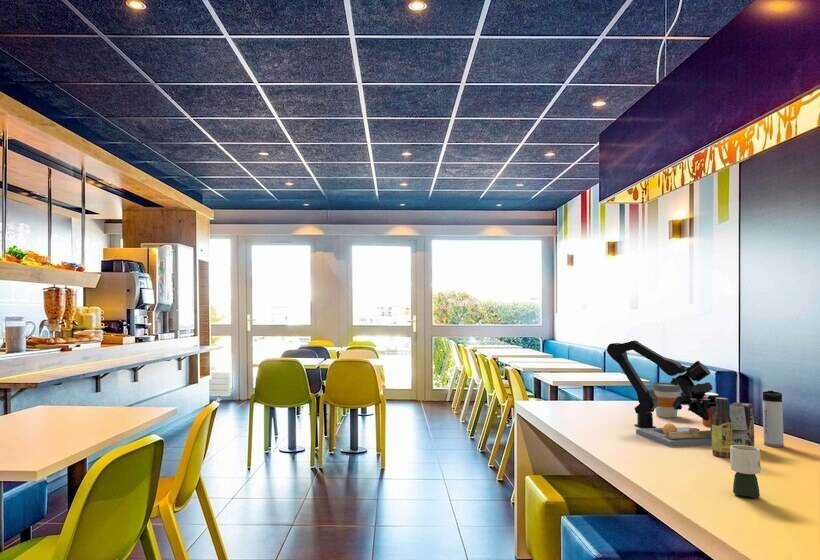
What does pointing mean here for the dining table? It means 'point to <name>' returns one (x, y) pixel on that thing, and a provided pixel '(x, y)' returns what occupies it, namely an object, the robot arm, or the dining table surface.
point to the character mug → (745, 469)
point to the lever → (694, 430)
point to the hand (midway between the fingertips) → (707, 420)
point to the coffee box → (742, 424)
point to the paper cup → (707, 423)
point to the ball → (669, 428)
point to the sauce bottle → (721, 429)
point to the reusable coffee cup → (666, 398)
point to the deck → (660, 437)
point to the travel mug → (773, 419)
